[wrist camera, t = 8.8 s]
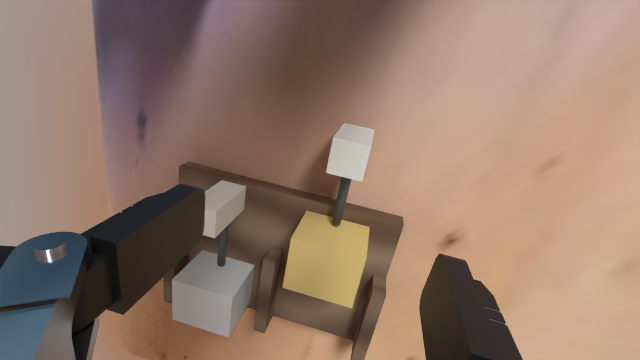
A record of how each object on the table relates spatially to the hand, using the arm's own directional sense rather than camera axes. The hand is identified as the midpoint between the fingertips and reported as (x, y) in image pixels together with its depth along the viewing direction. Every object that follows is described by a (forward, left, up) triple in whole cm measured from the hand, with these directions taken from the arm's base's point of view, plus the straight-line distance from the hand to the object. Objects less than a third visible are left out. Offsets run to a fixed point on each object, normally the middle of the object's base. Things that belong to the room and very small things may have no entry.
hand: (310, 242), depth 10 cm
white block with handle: (+14, -10, -16) cm, 24 cm away
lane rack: (+14, -5, -18) cm, 23 cm away
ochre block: (+6, 0, -16) cm, 17 cm away
